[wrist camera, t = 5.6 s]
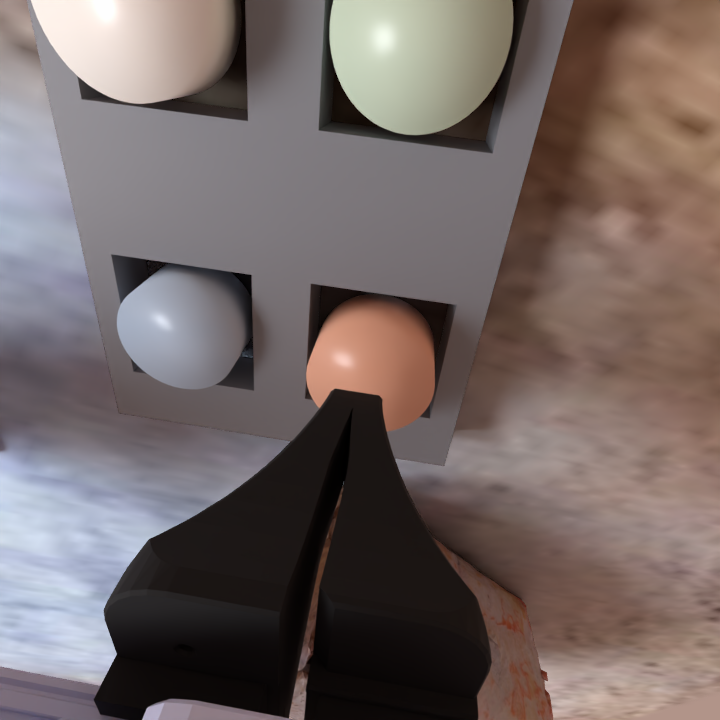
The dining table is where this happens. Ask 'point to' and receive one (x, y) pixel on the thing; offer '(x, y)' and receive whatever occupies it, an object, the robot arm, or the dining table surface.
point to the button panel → (298, 212)
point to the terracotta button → (376, 356)
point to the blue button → (186, 325)
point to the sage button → (419, 58)
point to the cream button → (144, 44)
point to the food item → (506, 637)
